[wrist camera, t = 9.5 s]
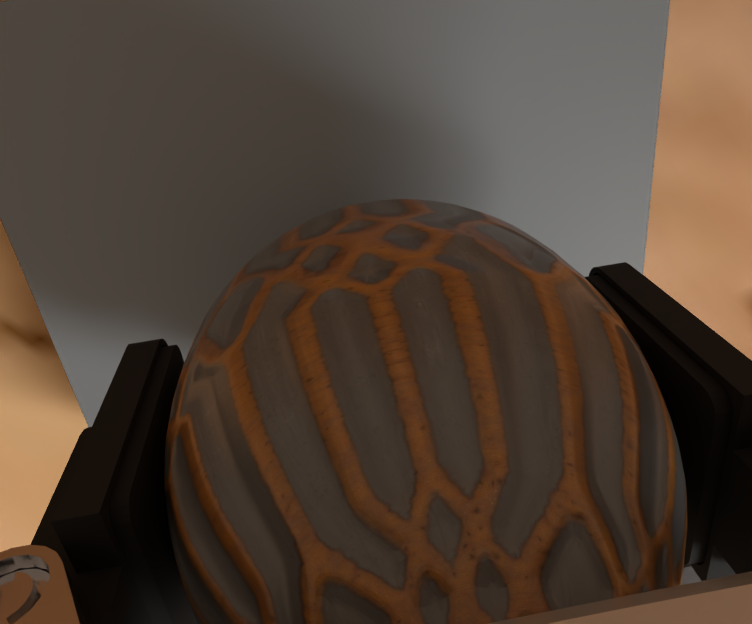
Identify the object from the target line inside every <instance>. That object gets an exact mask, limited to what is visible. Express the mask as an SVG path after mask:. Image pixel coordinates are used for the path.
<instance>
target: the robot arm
mask: <svg viewBox="0 0 752 624" xmlns="http://www.w3.org/2000/svg"><path fill="white" fill-rule="evenodd" d="M585 278H586V279H587V280H588V281H589V282H590V284H591V285H592V286H593V287H594V288H595V289H596V290H597V291H598V292H599V293H600V294H601V295H602V296H603V297H604V298H605V299H606V301H607V302H608V303H609V304H610V305H611V306H612V308H613V309H614V310H615V311H616V313H617V314H618V315H619V316H620V318H621V319H622V321H623V322H624V324H625V325H626V327H627V328H628V330H629V332H630V333H631V335H632V336H633V338H634V339H635V341H636V342H637V344H638V345H639V347H640V349H641V351H642V353H643V355H644V357H645V359H646V361H647V363H648V365H649V367H650V369H651V371H652V373H653V375H654V377H655V379H656V381H657V384H658V386H659V389H660V391H661V394H662V396H663V399H664V401H665V404H666V406H667V409H668V412H669V415H670V417H671V421H672V424H673V427H674V431H675V434H676V437H677V441H678V445H679V450H680V454H681V459H682V464H683V470H684V475H685V481H686V493H687V536H686V548H685V559H684V565H691V566H692V568H693V569H694V571H695V572H696V574H697V575H698V576H699V578H700V579H701V581H699V582H694V583H689V584H684V585H679V586H674V587H669V588H664V589H658V590H653V591H648V592H643V593H638V594H633V595H628V596H623V597H618V598H613V599H608V600H603V601H598V602H593V603H588V604H583V605H578V606H573V607H568V608H563V609H558V610H553V611H548V612H543V613H538V614H533V615H528V616H523V617H518V618H513V619H508V620H503V621H498V622H493V623H488V624H752V361H751V360H750V359H749V358H747V357H746V356H745V355H744V354H742V353H741V352H740V351H739V350H737V349H736V348H735V347H733V346H732V345H731V344H730V343H728V342H727V341H726V340H725V339H723V338H722V337H721V336H720V335H718V334H717V333H716V332H715V331H713V330H712V329H711V328H709V327H708V326H707V325H706V324H704V323H703V322H702V321H701V320H699V319H698V318H697V317H696V316H694V315H693V314H692V313H690V312H689V311H688V310H687V309H685V308H684V307H683V306H682V305H680V304H679V303H678V302H677V301H675V300H674V299H673V298H672V297H670V296H669V295H668V294H666V293H665V292H664V291H663V290H661V289H660V288H659V287H658V286H656V285H655V284H654V283H653V282H651V281H650V280H649V279H648V278H646V277H645V276H644V275H642V274H641V273H640V272H639V271H637V270H636V269H635V268H634V267H632V266H631V265H630V264H628V263H626V262H623V263H617V264H611V265H605V266H599V267H593V268H592V269H591V271H590V273H589V276H587V277H585ZM183 365H184V360H183V357H182V354H181V351H180V349H179V347H178V346H177V345H171V346H168V344H167V343H166V341H165V340H164V339H163V338H162V339H156V340H150V341H144V342H138V343H132V344H128V346H127V347H126V349H125V352H124V354H123V356H122V359H121V361H120V363H119V365H118V368H117V370H116V372H115V375H114V377H113V379H112V382H111V384H110V386H109V388H108V391H107V393H106V395H105V398H104V400H103V402H102V405H101V407H100V409H99V412H98V414H97V416H96V418H95V421H94V423H93V425H92V427H88V428H86V429H84V430H83V432H82V433H81V435H80V436H79V439H78V441H77V443H76V445H75V448H74V450H73V452H72V454H71V456H70V459H69V461H68V463H67V465H66V467H65V470H64V472H63V474H62V476H61V479H60V481H59V483H58V485H57V487H56V490H55V492H54V494H53V496H52V498H51V501H50V503H49V505H48V507H47V509H46V512H45V514H44V516H43V518H42V521H41V523H40V525H39V527H38V529H37V532H36V534H35V536H34V538H33V540H32V543H31V545H26V546H20V547H15V548H11V549H8V550H5V551H3V552H0V624H197V621H196V619H195V617H194V614H193V612H192V609H191V607H190V604H189V602H188V599H187V597H186V594H185V591H184V588H183V585H182V581H181V578H180V574H179V571H178V567H177V563H176V559H175V555H174V551H173V546H172V541H171V535H170V530H169V523H168V516H167V507H166V497H165V478H164V469H165V444H166V434H167V429H168V424H169V418H170V413H171V408H172V402H173V398H174V394H175V391H176V387H177V384H178V381H179V378H180V374H181V371H182V368H183Z"/></svg>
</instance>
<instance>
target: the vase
mask: <svg viewBox="0 0 752 624" xmlns="http://www.w3.org/2000/svg"><path fill="white" fill-rule="evenodd" d="M164 478H165V497H166V507H167V516H168V523H169V530H170V535H171V541H172V546H173V551H174V555H175V559H176V563H177V567H178V571H179V574H180V578H181V581H182V585H183V588H184V591H185V594H186V597H187V599H188V602H189V604H190V607H191V609H192V612H193V614H194V617H195V619H196V621H197V624H488V623H493V622H498V621H503V620H508V619H513V618H518V617H523V616H528V615H533V614H538V613H543V612H548V611H553V610H558V609H563V608H568V607H573V606H578V605H583V604H588V603H593V602H598V601H603V600H608V599H613V598H618V597H623V596H628V595H633V594H638V593H643V592H648V591H653V590H658V589H664V588H669V587H674V586H679V585H681V584H682V576H683V568H684V559H685V548H686V536H687V493H686V481H685V475H684V470H683V464H682V459H681V454H680V450H679V445H678V441H677V437H676V434H675V431H674V427H673V424H672V421H671V417H670V415H669V412H668V409H667V406H666V404H665V401H664V399H663V396H662V394H661V391H660V389H659V386H658V384H657V381H656V379H655V377H654V375H653V373H652V371H651V369H650V367H649V365H648V363H647V361H646V359H645V357H644V355H643V353H642V351H641V349H640V347H639V345H638V344H637V342H636V341H635V339H634V338H633V336H632V335H631V333H630V332H629V330H628V328H627V327H626V325H625V324H624V322H623V321H622V319H621V318H620V316H619V315H618V314H617V313H616V311H615V310H614V309H613V308H612V306H611V305H610V304H609V303H608V302H607V301H606V299H605V298H604V297H603V296H602V295H601V294H600V293H599V292H598V291H597V290H596V289H595V288H594V287H593V286H592V285H591V284H590V282H589V281H588V280H587V279H586V278H585V277H584V276H583V275H581V274H580V273H579V272H578V271H577V270H575V269H574V268H573V267H572V266H571V265H570V264H568V263H567V262H566V261H565V260H564V259H562V258H561V257H560V256H559V255H558V254H556V253H555V252H554V251H553V250H551V249H550V248H548V247H547V246H545V245H544V244H542V243H541V242H539V241H538V240H536V239H535V238H533V237H532V236H530V235H529V234H527V233H526V232H524V231H522V230H520V229H519V228H517V227H515V226H513V225H512V224H509V223H507V222H505V221H503V220H501V219H498V218H496V217H493V216H491V215H488V214H485V213H482V212H479V211H476V210H473V209H469V208H466V207H462V206H458V205H454V204H450V203H445V202H439V201H431V200H421V199H391V200H377V201H370V202H363V203H359V204H354V205H350V206H346V207H342V208H339V209H336V210H332V211H330V212H327V213H325V214H322V215H319V216H317V217H315V218H313V219H311V220H308V221H306V222H304V223H302V224H301V225H299V226H297V227H295V228H294V229H292V230H290V231H288V232H287V233H285V234H283V235H282V236H280V237H279V238H277V239H276V240H274V241H273V242H271V243H270V244H269V245H267V246H266V247H265V248H264V249H262V250H261V251H260V252H259V253H257V254H256V255H255V256H254V257H253V258H252V259H251V260H250V261H249V262H248V263H247V264H246V265H245V266H244V267H243V268H242V269H241V270H240V271H239V272H238V273H237V274H236V276H235V277H234V278H233V279H232V280H231V281H230V282H229V284H228V285H227V286H226V287H225V288H224V290H223V291H222V292H221V294H220V295H219V296H218V298H217V299H216V300H215V302H214V303H213V305H212V306H211V308H210V309H209V311H208V313H207V314H206V316H205V318H204V320H203V322H202V324H201V326H200V327H199V329H198V331H197V334H196V336H195V338H194V340H193V343H192V345H191V347H190V349H189V352H188V354H187V357H186V359H185V362H184V365H183V368H182V371H181V374H180V378H179V381H178V384H177V387H176V391H175V394H174V398H173V402H172V408H171V413H170V418H169V424H168V429H167V434H166V444H165V469H164Z"/></svg>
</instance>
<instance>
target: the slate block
mask: <svg viewBox="0 0 752 624" xmlns="http://www.w3.org/2000/svg"><path fill="white" fill-rule="evenodd" d="M669 5H670V0H7V1H0V219H1V221H2V223H3V226H4V228H5V230H6V233H7V235H8V238H9V240H10V242H11V245H12V247H13V249H14V252H15V254H16V256H17V259H18V261H19V264H20V266H21V268H22V271H23V273H24V275H25V278H26V280H27V282H28V285H29V287H30V290H31V292H32V294H33V297H34V299H35V301H36V304H37V306H38V308H39V311H40V313H41V316H42V318H43V320H44V323H45V325H46V327H47V330H48V332H49V334H50V337H51V339H52V342H53V344H54V346H55V349H56V351H57V353H58V356H59V358H60V361H61V363H62V365H63V368H64V370H65V372H66V375H67V377H68V379H69V382H70V384H71V387H72V389H73V391H74V394H75V396H76V398H77V401H78V403H79V405H80V408H81V410H82V413H83V415H84V417H85V420H86V422H87V424H88V427H92V425H93V423H94V421H95V418H96V416H97V414H98V412H99V409H100V407H101V405H102V402H103V400H104V398H105V395H106V393H107V391H108V388H109V386H110V384H111V382H112V379H113V377H114V375H115V372H116V370H117V368H118V365H119V363H120V361H121V359H122V356H123V354H124V352H125V349H126V347H127V346H128V344H132V343H138V342H144V341H150V340H156V339H162V338H163V339H164V340H165V341H166V343H167V344H168V346H171V345H177V346H178V347H179V349H180V351H181V354H182V357H183V360H184V362H185V359H186V357H187V354H188V352H189V349H190V347H191V345H192V343H193V340H194V338H195V336H196V334H197V331H198V329H199V327H200V326H201V324H202V322H203V320H204V318H205V316H206V314H207V313H208V311H209V309H210V308H211V306H212V305H213V303H214V302H215V300H216V299H217V298H218V296H219V295H220V294H221V292H222V291H223V290H224V288H225V287H226V286H227V285H228V284H229V282H230V281H231V280H232V279H233V278H234V277H235V276H236V274H237V273H238V272H239V271H240V270H241V269H242V268H243V267H244V266H245V265H246V264H247V263H248V262H249V261H250V260H251V259H252V258H253V257H254V256H255V255H256V254H257V253H259V252H260V251H261V250H262V249H264V248H265V247H266V246H267V245H269V244H270V243H271V242H273V241H274V240H276V239H277V238H279V237H280V236H282V235H283V234H285V233H287V232H288V231H290V230H292V229H294V228H295V227H297V226H299V225H301V224H302V223H304V222H306V221H308V220H311V219H313V218H315V217H317V216H319V215H322V214H325V213H327V212H330V211H332V210H336V209H339V208H342V207H346V206H350V205H354V204H359V203H363V202H370V201H377V200H391V199H421V200H431V201H439V202H445V203H450V204H454V205H458V206H462V207H466V208H469V209H473V210H476V211H479V212H482V213H485V214H488V215H491V216H493V217H496V218H498V219H501V220H503V221H505V222H507V223H509V224H512V225H513V226H515V227H517V228H519V229H520V230H522V231H524V232H526V233H527V234H529V235H530V236H532V237H533V238H535V239H536V240H538V241H539V242H541V243H542V244H544V245H545V246H547V247H548V248H550V249H551V250H553V251H554V252H555V253H556V254H558V255H559V256H560V257H561V258H562V259H564V260H565V261H566V262H567V263H568V264H570V265H571V266H572V267H573V268H574V269H575V270H577V271H578V272H579V273H580V274H581V275H583V276H584V277H587V276H589V273H590V271H591V269H592V268H593V267H599V266H605V265H611V264H617V263H623V262H626V263H628V264H630V265H631V266H632V267H634V268H635V269H636V270H637V271H639V272H640V273H641V274H642V275H643V269H644V259H645V248H646V238H647V228H648V218H649V208H650V198H651V188H652V178H653V167H654V157H655V147H656V137H657V127H658V117H659V107H660V97H661V86H662V76H663V66H664V56H665V46H666V36H667V26H668V16H669Z"/></svg>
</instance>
